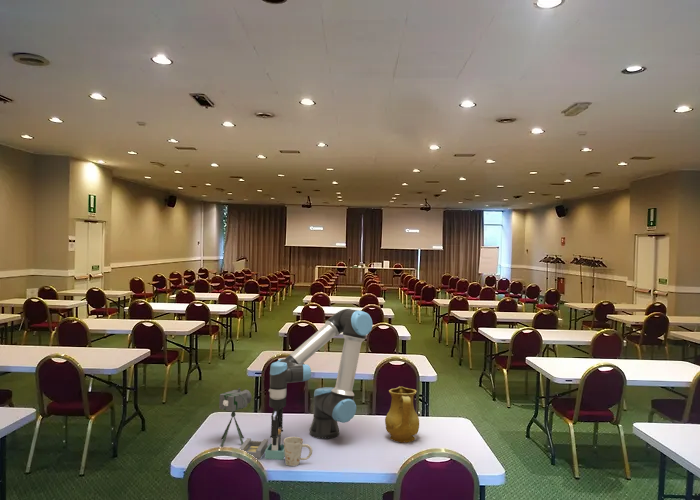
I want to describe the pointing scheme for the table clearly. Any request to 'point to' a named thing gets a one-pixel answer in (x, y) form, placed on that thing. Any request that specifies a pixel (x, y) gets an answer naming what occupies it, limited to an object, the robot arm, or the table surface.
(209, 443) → the table surface
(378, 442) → the table surface
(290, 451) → the mug
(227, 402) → the camera
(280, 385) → the robot arm
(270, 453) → the tray
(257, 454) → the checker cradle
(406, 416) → the pitcher
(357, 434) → the table surface
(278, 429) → the aa cell
